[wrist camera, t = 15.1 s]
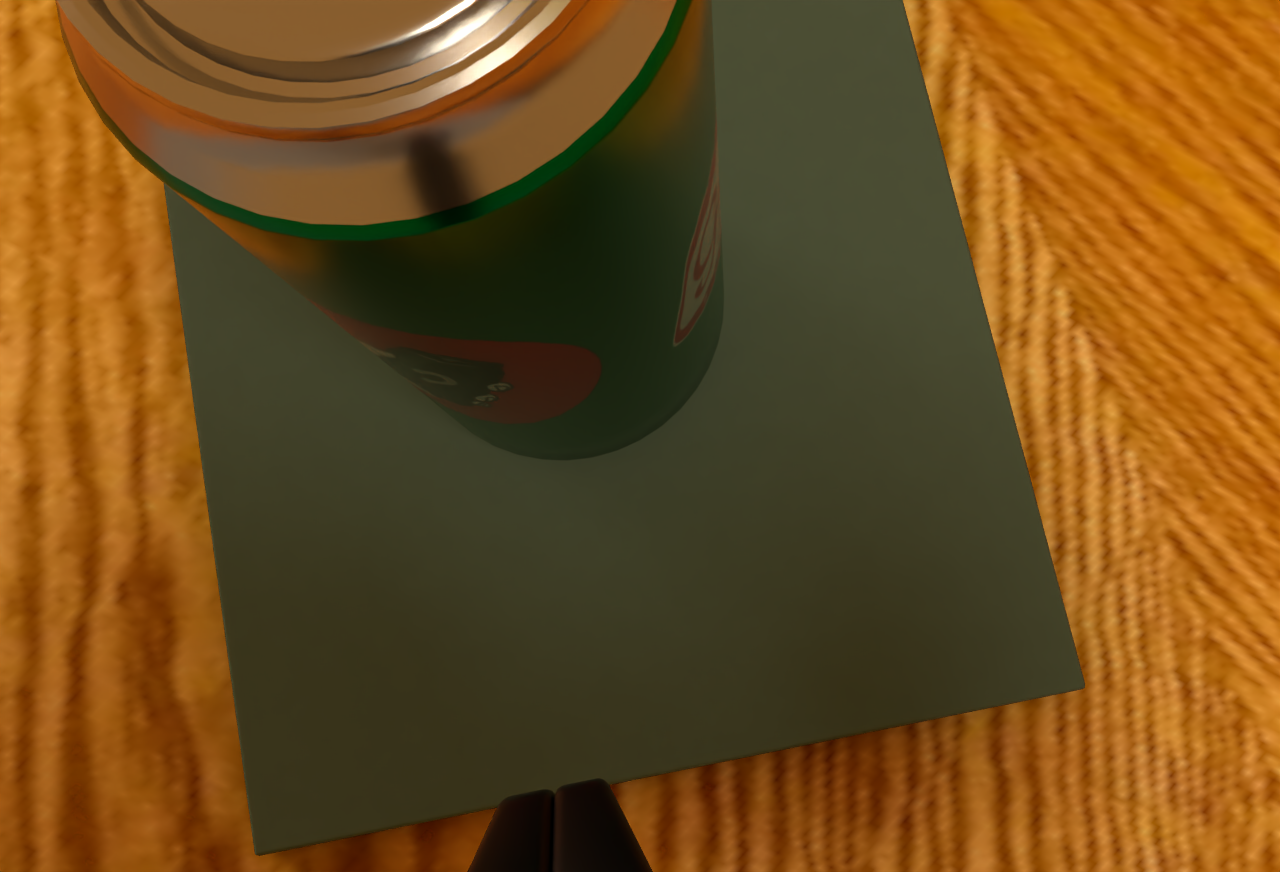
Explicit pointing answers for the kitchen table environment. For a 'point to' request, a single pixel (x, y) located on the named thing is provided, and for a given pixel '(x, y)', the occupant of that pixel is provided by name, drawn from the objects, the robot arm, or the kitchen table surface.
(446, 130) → the soda can
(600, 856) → the robot arm
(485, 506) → the mat
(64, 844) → the kitchen table surface
